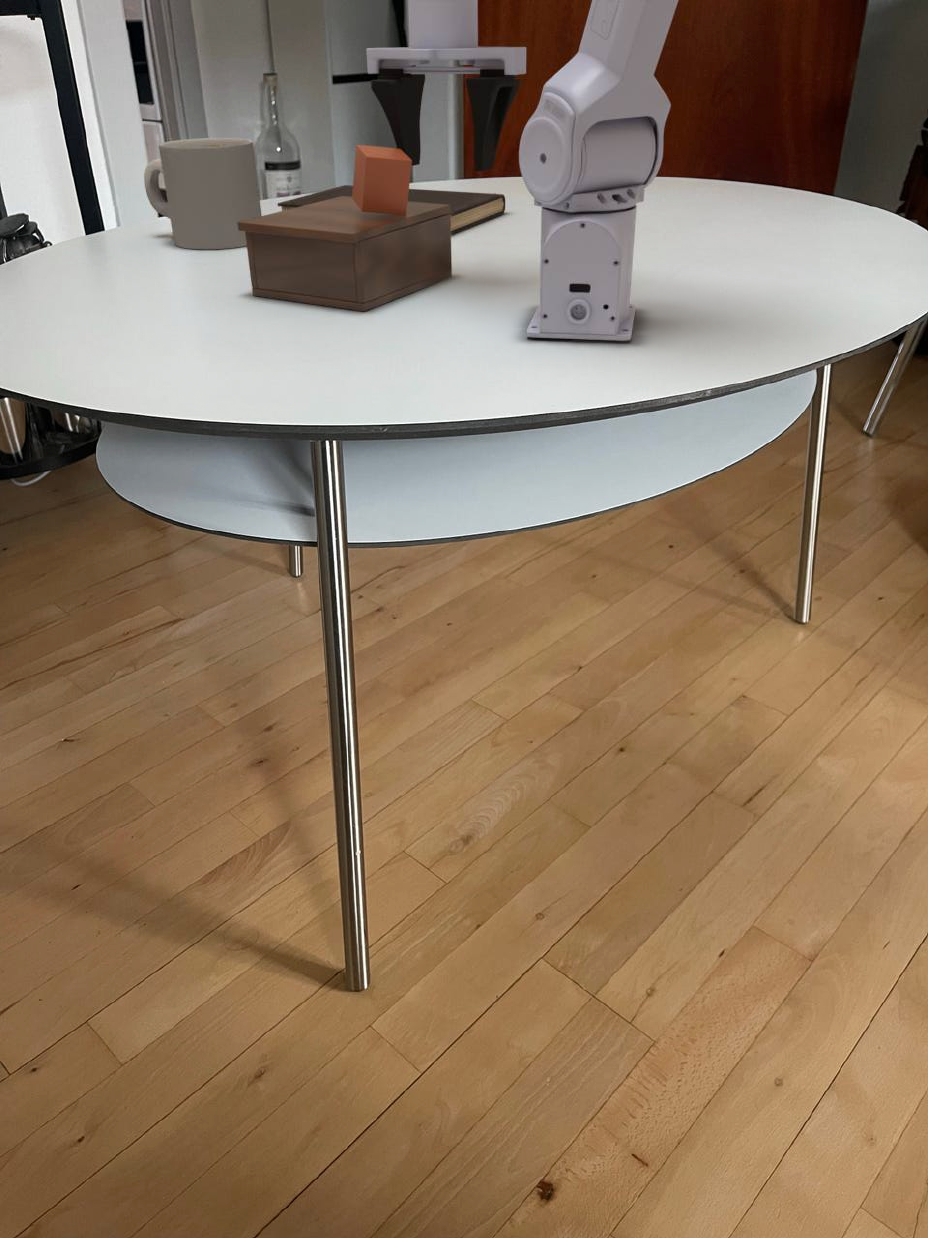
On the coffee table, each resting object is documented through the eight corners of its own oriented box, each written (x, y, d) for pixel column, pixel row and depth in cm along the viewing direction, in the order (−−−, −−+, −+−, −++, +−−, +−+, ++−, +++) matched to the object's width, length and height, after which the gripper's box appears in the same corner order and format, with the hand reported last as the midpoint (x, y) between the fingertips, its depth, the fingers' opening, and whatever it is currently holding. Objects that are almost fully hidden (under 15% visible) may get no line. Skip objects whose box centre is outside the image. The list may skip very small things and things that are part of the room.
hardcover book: (448, 236, 112) (448, 214, 110) (279, 223, 120) (277, 203, 119) (505, 213, 124) (505, 193, 123) (348, 202, 132) (347, 184, 131)
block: (406, 215, 87) (412, 160, 84) (361, 211, 86) (366, 156, 83) (395, 201, 90) (400, 148, 87) (351, 198, 88) (356, 144, 86)
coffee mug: (282, 236, 113) (272, 139, 108) (221, 252, 106) (206, 149, 101) (197, 226, 119) (183, 134, 114) (134, 241, 112) (116, 143, 107)
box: (364, 311, 84) (359, 240, 81) (252, 295, 89) (244, 228, 86) (452, 276, 94) (450, 213, 91) (347, 264, 100) (342, 203, 97)
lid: (353, 242, 80) (353, 233, 80) (238, 230, 86) (237, 221, 85) (450, 212, 91) (450, 204, 91) (342, 203, 97) (342, 195, 96)
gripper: (341, -13, 81) (353, 168, 88) (497, -19, 74) (497, 177, 81) (389, -13, 86) (397, 159, 93) (539, -18, 79) (535, 167, 87)
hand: (446, 167), depth 87 cm, fingers open, 7 cm apart
